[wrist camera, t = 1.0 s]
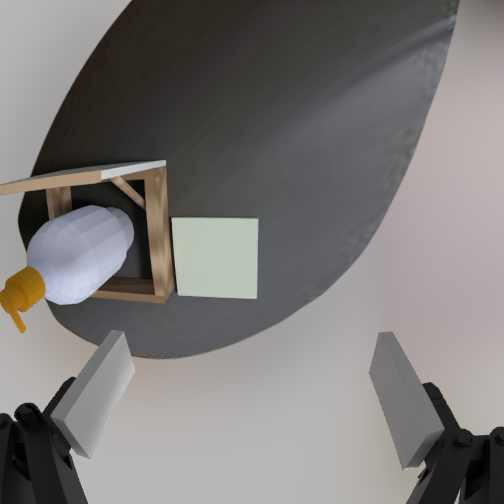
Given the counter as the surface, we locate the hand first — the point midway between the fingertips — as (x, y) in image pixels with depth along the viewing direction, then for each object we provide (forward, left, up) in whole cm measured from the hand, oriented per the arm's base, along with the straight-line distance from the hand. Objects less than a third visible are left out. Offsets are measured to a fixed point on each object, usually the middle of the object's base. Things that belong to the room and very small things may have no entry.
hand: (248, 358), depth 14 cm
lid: (-8, -22, -29) cm, 37 cm away
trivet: (+5, -6, -28) cm, 30 cm away
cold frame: (+1, -22, -28) cm, 36 cm away
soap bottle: (+1, -22, -29) cm, 36 cm away
